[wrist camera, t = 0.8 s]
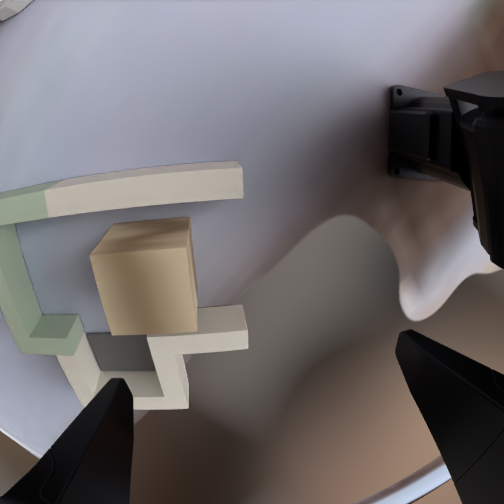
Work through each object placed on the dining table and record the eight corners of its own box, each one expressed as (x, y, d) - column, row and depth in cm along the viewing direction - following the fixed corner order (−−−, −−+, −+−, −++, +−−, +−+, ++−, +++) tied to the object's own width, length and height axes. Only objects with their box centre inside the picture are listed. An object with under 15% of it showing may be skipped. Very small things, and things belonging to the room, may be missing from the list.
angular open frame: (236, 160, 18) (242, 167, 15) (245, 377, 25) (250, 403, 22) (-7, 194, 16) (-31, 207, 13) (59, 380, 23) (50, 403, 20)
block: (190, 216, 19) (186, 247, 15) (197, 286, 21) (197, 331, 17) (114, 223, 18) (89, 255, 14) (127, 291, 20) (111, 335, 16)
